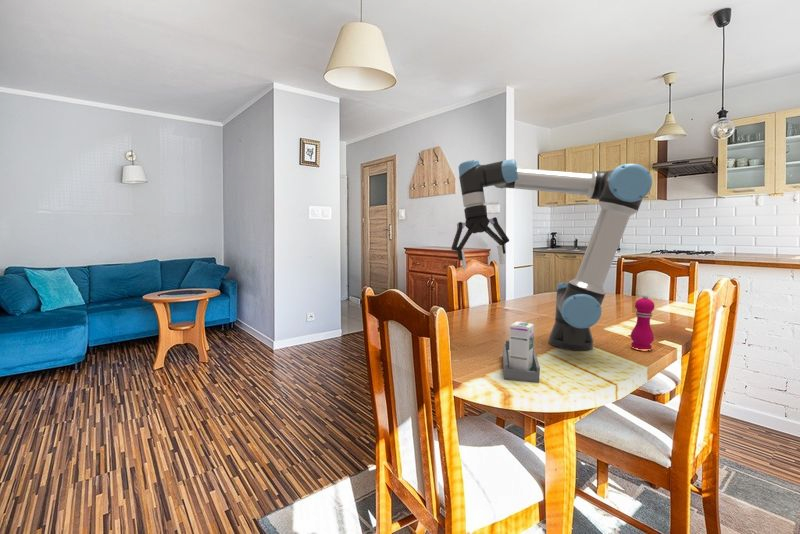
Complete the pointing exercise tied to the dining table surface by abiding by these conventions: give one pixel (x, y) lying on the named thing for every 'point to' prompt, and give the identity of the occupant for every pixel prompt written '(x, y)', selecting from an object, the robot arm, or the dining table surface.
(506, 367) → the grey card holder
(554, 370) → the dining table surface
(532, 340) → the syrup box
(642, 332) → the pepper mill
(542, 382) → the dining table surface
